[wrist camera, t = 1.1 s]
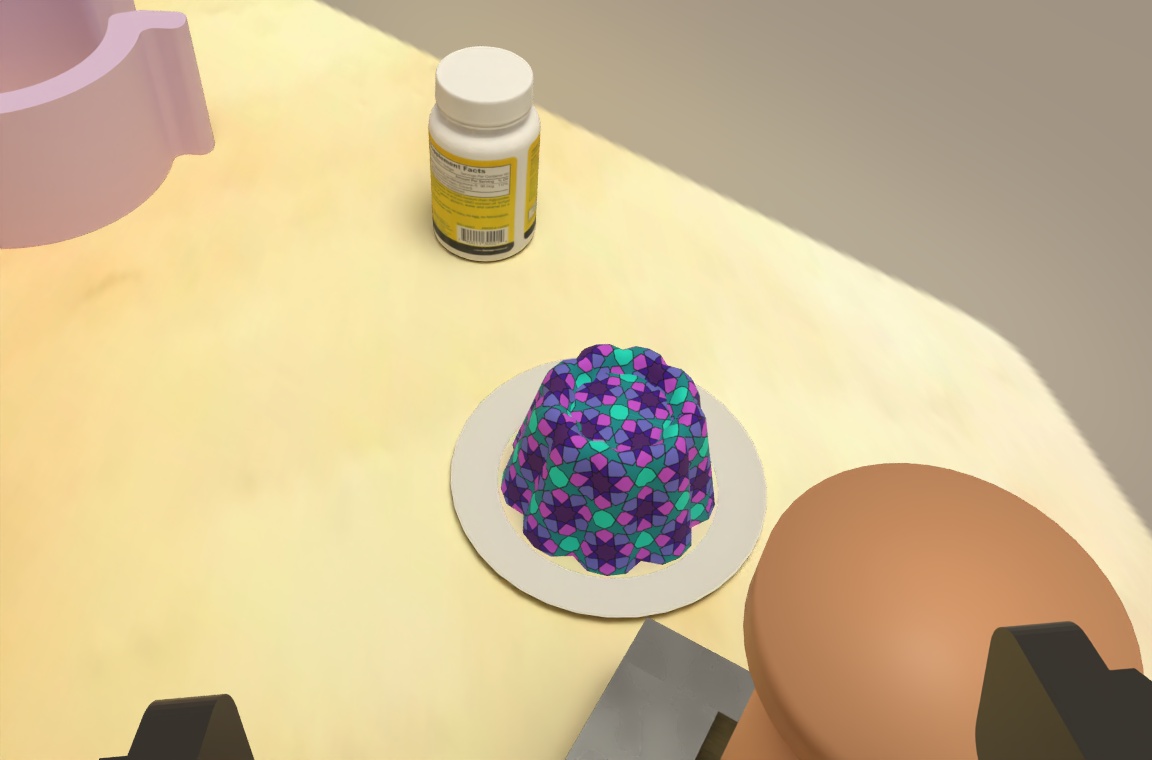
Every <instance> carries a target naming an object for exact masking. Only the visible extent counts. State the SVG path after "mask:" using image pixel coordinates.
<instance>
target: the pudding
mask: <svg viewBox="0 0 1152 760" xmlns="http://www.w3.org/2000/svg"><path fill="white" fill-rule="evenodd" d="M521 425H522V426H521ZM520 426H521V428H520V430H519V432H518V434H517V436H516V438H515V441H514V443H513V448H514V451H513V453H512V455H511V457H510V460H509V462H508V464H507V466H506V468H505V470H504V473H503V479H502V486H501V490H502V492H503V495H504V498H505V501H506V503H507V504H508V505H509V506H511V507H512V508H514V509H516V510H517V511H519V512H520V513H522V514H523V515H524V520H523V533H524V535H525V536H526V537H527V539H528V540H529V541H530V542H531V544H532V545H533V546H534V547H535V548H537V549H539V550H540V551H542V552H544V553H546V554H548V555H549V556H574V557H575V558H576V559H577V561H578V562H579V563H580V564H581V565H582V566H583V567H584V568H585V569H586V570H587V571H590V572H594V573H597V574H601V575H605V576H610V575H619V574H626V573H628V572H629V571H630V570H631V569H632V568H633V567H634V566H636V565H637V564H638V563H639V562H640V561H645V562H651V563H656V564H661V565H663V564H666V563H668V562H671V561H673V560H676V559H678V558H680V557H681V556H682V555H683V554H684V553H685V552H686V550H687V549H688V548H689V547H690V546H691V527H693V526H695V525H697V524H699V523H701V522H703V521H706V520H708V519H709V517H710V515H711V512H712V510H713V508H714V505H715V502H714V491H713V481H712V471H711V462H712V465H713V467H714V470H715V473H716V478H717V484H718V506H717V509H716V513H715V517H714V520H713V522H712V524H711V526H710V528H709V530H708V532H707V534H706V536H705V537H704V538H703V539H702V541H701V542H700V543H699V544H698V545H697V547H696V548H695V549H694V550H693V551H691V552H690V553H689V554H688V555H686V556H685V557H684V558H683V559H682V560H680V561H678V562H676V563H674V564H673V565H671V566H669V567H667V568H665V569H662V570H659V571H656V572H654V573H651V574H648V575H642V576H636V577H630V578H602V577H596V576H589V575H584V574H581V573H578V572H574V571H571V570H568V569H565V568H563V567H561V566H559V565H557V564H555V563H553V562H551V561H549V560H547V559H546V558H545V557H543V556H542V555H540V554H539V553H537V552H536V551H535V550H533V549H532V548H531V547H530V546H529V545H528V544H527V543H526V542H525V541H524V540H523V539H522V538H521V537H520V536H519V535H518V534H517V532H516V531H515V529H514V528H513V526H512V525H511V524H510V522H509V521H508V519H507V516H506V514H505V512H504V510H503V507H502V505H501V501H500V496H499V492H498V469H499V464H500V459H501V456H502V454H503V452H504V449H505V447H506V445H507V443H508V441H509V440H510V438H511V437H512V436H513V434H514V433H515V431H516V430H517V429H518V428H519V427H520ZM710 459H711V461H710ZM451 490H452V496H453V501H454V507H455V510H456V513H457V515H458V518H459V520H460V523H461V525H462V528H463V530H464V532H465V534H466V535H467V537H468V538H469V540H470V541H471V543H472V544H473V546H474V547H475V549H476V550H477V552H478V553H479V554H480V556H481V557H482V558H483V559H484V560H485V561H486V562H487V563H488V564H489V565H490V566H491V567H492V568H493V569H494V570H495V571H496V572H497V573H498V574H499V575H501V576H502V577H503V578H505V579H506V580H507V581H509V582H510V583H512V584H513V585H514V586H516V587H517V588H518V589H520V590H521V591H523V592H525V593H527V594H529V595H531V596H533V597H535V598H537V599H539V600H541V601H543V602H545V603H547V604H550V605H553V606H556V607H559V608H563V609H566V610H569V611H572V612H575V613H580V614H587V615H593V616H600V617H607V618H609V617H642V616H648V615H653V614H659V613H665V612H669V611H671V610H674V609H677V608H680V607H683V606H686V605H688V604H691V603H694V602H695V601H697V600H699V599H701V598H702V597H704V596H706V595H708V594H709V593H711V592H713V591H715V590H716V589H718V588H719V587H720V586H721V585H722V584H723V583H725V582H726V581H727V580H728V579H729V578H730V577H732V576H733V575H734V574H735V573H736V572H737V571H738V570H739V568H740V567H741V566H742V564H743V563H744V562H745V560H746V559H747V558H748V557H749V555H750V554H751V553H752V550H753V548H754V546H755V544H756V542H757V540H758V538H759V536H760V533H761V531H762V527H763V522H764V518H765V513H766V509H767V486H766V481H765V476H764V471H763V466H762V462H761V460H760V458H759V455H758V453H757V450H756V448H755V446H754V443H753V441H752V440H751V438H750V437H749V435H748V434H747V432H746V431H745V429H744V428H743V426H742V424H741V423H740V422H739V421H738V420H737V418H736V417H735V416H734V415H733V414H732V413H731V412H730V411H729V410H728V409H727V407H726V406H725V405H724V404H722V403H721V402H720V401H719V400H717V399H716V398H715V397H714V396H712V395H711V394H710V393H709V392H708V391H706V390H705V389H703V388H702V387H700V386H698V385H697V384H695V383H694V382H693V380H692V379H691V377H689V376H688V375H687V374H686V373H685V372H684V371H683V370H682V369H678V368H675V367H671V366H668V365H667V364H666V363H665V361H664V359H663V358H662V356H661V355H660V354H658V353H656V352H654V351H652V350H651V349H648V348H642V347H637V346H635V347H631V348H628V349H624V350H622V349H620V348H617V347H615V346H613V345H610V344H599V345H594V346H591V347H588V348H586V349H584V350H583V351H582V352H581V353H580V355H579V356H578V357H577V358H571V359H563V360H559V361H555V362H551V363H547V364H544V365H540V366H537V367H535V368H532V369H530V370H528V371H525V372H523V373H521V374H518V375H516V376H515V377H513V378H512V379H510V380H508V381H507V382H505V383H504V384H502V385H500V386H499V387H497V388H496V389H495V390H494V391H493V392H492V393H491V394H490V395H488V396H487V397H486V398H485V399H484V400H483V401H482V402H481V403H480V404H479V405H478V407H477V408H476V409H475V410H474V412H473V413H472V414H471V416H470V417H469V418H468V419H467V421H466V423H465V425H464V427H463V429H462V431H461V433H460V435H459V437H458V439H457V442H456V446H455V450H454V454H453V458H452V462H451Z"/></svg>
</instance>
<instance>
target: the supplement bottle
mask: <svg viewBox="0 0 1152 760" xmlns="http://www.w3.org/2000/svg"><path fill="white" fill-rule="evenodd" d="M435 99H436V104H435V105H434V107H433V108H432V110H431V113H430V117H429V126H428V129H429V149H430V170H431V191H432V213H433V227H434V232H435V235H436V237H437V239H438V240H439V242H440V243H441V244H442V245H443V246H444V247H445V248H446V249H448V250H449V251H451V252H452V253H454V254H456V255H458V256H460V257H463V258H466V259H470V260H475V261H495V260H501V259H504V258H507V257H510V256H512V255H514V254H516V253H518V252H519V251H520V250H522V249H523V248H524V247H525V246H526V245H527V244H528V243H529V242H530V240H531V239H532V237H533V235H534V231H535V224H536V206H537V185H538V165H539V146H540V119H539V115H538V112H537V110H536V108H535V107H534V105H533V72H532V70H531V68H530V66H529V64H528V63H527V62H526V61H525V60H524V59H522V58H521V57H519V56H518V55H516V54H514V53H512V52H510V51H507V50H504V49H501V48H496V47H485V46H481V47H480V46H478V47H469V48H464V49H461V50H458V51H455V52H453V53H451V54H449V55H447V56H446V57H445V58H444V59H442V61H441V62H440V63H439V65H438V67H437V69H436V86H435Z"/></svg>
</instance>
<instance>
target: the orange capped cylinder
mask: <svg viewBox="0 0 1152 760" xmlns="http://www.w3.org/2000/svg"><path fill="white" fill-rule="evenodd" d="M1063 621H1071V622H1074V623H1075V624H1077V625H1078V626H1079V627H1080V628H1081V629H1082V630H1083V631H1084V633H1085V634H1086V635H1087V637H1088V638H1089V640H1090V641H1091V643H1092V644H1093V646H1094V647H1095V649H1096V650H1097V652H1098V653H1099V655H1100V656H1101V658H1102V659H1103V661H1104V662H1105V664H1106V665H1107V667H1108V668H1109V670H1117V669H1128V668H1135V669H1137V670H1138V671H1139V672H1140V673H1142V674H1143V665H1142V660H1141V654H1140V649H1139V645H1138V642H1137V638H1136V635H1135V632H1134V629H1133V626H1132V623H1131V621H1130V619H1129V617H1128V614H1127V612H1126V610H1125V608H1124V606H1123V604H1122V602H1121V600H1120V598H1119V596H1118V595H1117V593H1116V591H1115V590H1114V588H1113V587H1112V585H1111V583H1110V582H1109V580H1108V578H1107V577H1106V576H1105V575H1104V573H1103V572H1102V571H1101V569H1100V568H1099V567H1098V565H1097V564H1096V563H1095V561H1094V560H1093V559H1092V558H1091V557H1090V555H1089V554H1088V553H1087V552H1086V551H1085V550H1084V549H1083V548H1082V547H1081V546H1080V545H1079V544H1078V542H1077V541H1076V540H1075V539H1073V538H1072V537H1071V536H1070V535H1069V534H1068V533H1067V532H1066V531H1065V530H1064V529H1062V528H1061V527H1060V526H1059V525H1058V524H1057V523H1055V522H1054V521H1053V520H1051V519H1050V518H1049V517H1047V516H1046V515H1045V514H1043V513H1042V512H1041V511H1040V510H1038V509H1037V508H1035V507H1034V506H1032V505H1030V504H1029V503H1027V502H1025V501H1024V500H1022V499H1021V498H1019V497H1017V496H1016V495H1014V494H1012V493H1010V492H1008V491H1006V490H1004V489H1002V488H1000V487H998V486H996V485H994V484H991V483H989V482H986V481H984V480H981V479H979V478H976V477H974V476H971V475H967V474H964V473H960V472H957V471H954V470H950V469H945V468H940V467H935V466H930V465H921V464H909V463H889V464H877V465H870V466H863V467H859V468H855V469H852V470H848V471H844V472H842V473H839V474H837V475H834V476H832V477H830V478H827V479H825V480H823V481H822V482H820V483H818V484H817V485H815V486H813V487H812V488H810V489H808V490H807V491H806V492H805V493H804V494H802V495H801V496H800V497H799V498H797V499H796V500H795V501H794V502H793V503H792V504H791V505H790V507H789V508H788V509H787V510H786V511H785V512H784V513H783V514H782V516H781V517H780V519H779V520H778V522H777V524H776V525H775V527H774V528H773V530H772V532H771V534H770V536H769V539H768V541H767V544H766V546H765V548H764V551H763V553H762V556H761V558H760V561H759V563H758V566H757V568H756V571H755V573H754V576H753V578H752V580H751V583H750V586H749V590H748V594H747V598H746V602H745V611H744V622H743V629H744V645H745V651H746V657H747V662H748V667H749V671H750V674H751V677H752V680H753V683H754V686H755V689H754V691H753V693H752V695H751V697H750V699H749V701H748V703H747V705H746V707H745V709H744V712H743V714H742V716H741V718H740V720H739V722H738V724H737V726H736V728H735V730H734V732H733V734H732V736H731V738H730V740H729V742H728V745H727V747H726V749H725V751H724V753H723V755H722V757H721V759H720V760H978V756H977V751H976V742H975V726H976V719H977V714H978V708H979V703H980V697H981V691H982V686H983V680H984V675H985V669H986V663H987V658H988V652H989V647H990V641H991V637H992V635H993V632H994V631H995V630H996V629H997V628H999V627H1007V626H1018V625H1029V624H1041V623H1052V622H1063Z"/></svg>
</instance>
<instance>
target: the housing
mask: <svg viewBox="0 0 1152 760" xmlns="http://www.w3.org/2000/svg"><path fill="white" fill-rule="evenodd" d="M754 689H755V686H754V683H753V680H752V677H751V674H750V671H748V670H746V669H744V668H742V667H740V666H738V665H736V664H735V663H733V662H731V661H729V660H727V659H725V658H723V657H721V656H720V655H718V654H716V653H714V652H712V651H710V650H708V649H706V648H705V647H703V646H701V645H699V644H697V643H695V642H693V641H691V640H690V639H688V638H686V637H684V636H682V635H680V634H678V633H676V632H675V631H673V630H671V629H669V628H667V627H665V626H663V625H661V624H660V623H658V622H656V621H654V620H652V619H650V618H648V617H647V618H646V620H645V622H644V623H643V625H642V627H641V629H640V630H639V632H638V634H637V635H636V637H635V639H634V641H633V642H632V644H631V646H630V648H629V649H628V651H627V653H626V655H625V656H624V658H623V660H622V662H621V663H620V665H619V667H618V668H617V670H616V672H615V674H614V675H613V677H612V679H611V681H610V682H609V684H608V686H607V688H606V689H605V691H604V693H603V695H602V696H601V698H600V700H599V701H598V703H597V705H596V707H595V708H594V710H593V712H592V714H591V715H590V717H589V719H588V721H587V722H586V724H585V726H584V728H583V729H582V731H581V733H580V734H579V736H578V738H577V740H576V741H575V743H574V745H573V747H572V748H571V750H570V752H569V754H568V755H567V757H566V759H565V760H720V759H721V757H722V755H723V753H724V751H725V749H726V747H727V745H728V742H729V740H730V738H731V736H732V734H733V732H734V730H735V728H736V726H737V724H738V722H739V720H740V718H741V716H742V714H743V712H744V709H745V707H746V705H747V703H748V701H749V699H750V697H751V695H752V693H753V691H754Z"/></svg>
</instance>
